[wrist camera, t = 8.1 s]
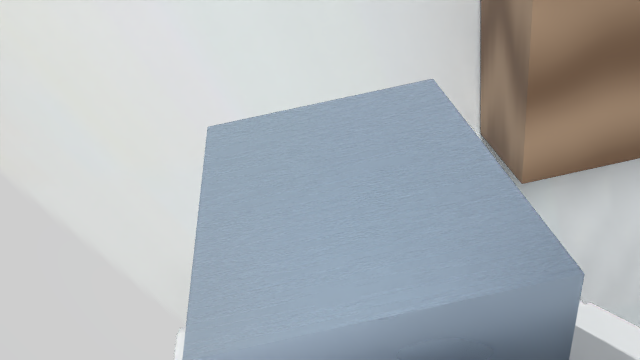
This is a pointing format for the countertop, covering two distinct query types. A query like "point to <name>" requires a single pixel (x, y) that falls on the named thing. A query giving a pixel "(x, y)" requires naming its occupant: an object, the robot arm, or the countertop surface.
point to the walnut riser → (560, 84)
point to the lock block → (371, 241)
